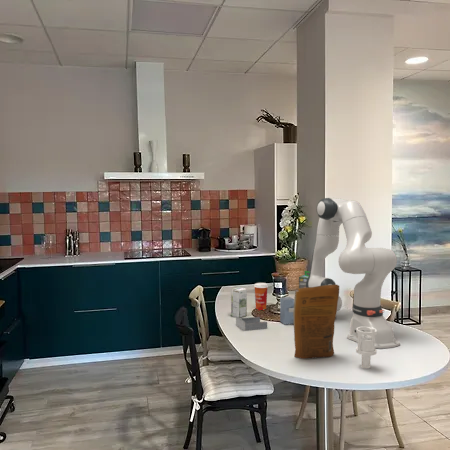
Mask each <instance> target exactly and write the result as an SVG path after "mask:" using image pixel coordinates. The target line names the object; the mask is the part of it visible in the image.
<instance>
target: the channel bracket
mask: <svg viewBox="0 0 450 450" xmlns="http://www.w3.org/2000/svg"><path fill="white" fill-rule="evenodd" d="M235 325H236V326H237V327H238V328H239V329H240V330H241V331H242V332H245V331H256V330H264V329H265V330H266V329H268V321H261V316H253V317H252V316H251V317H241V318H239V317H235Z"/></svg>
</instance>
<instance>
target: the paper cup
mask: <svg viewBox="0 0 450 450" xmlns="http://www.w3.org/2000/svg"><path fill="white" fill-rule="evenodd" d="M253 287H254V299H255V301H254V302H255V310H256V309H258V310H257V311H260V310H263V309H266V310H267V302H268V300H267V299H268V288H269V286H268V284H267V283H266V282H256V283H254V286H253ZM263 311H264V310H263Z"/></svg>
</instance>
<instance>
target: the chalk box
mask: <svg viewBox="0 0 450 450" xmlns="http://www.w3.org/2000/svg"><path fill="white" fill-rule="evenodd" d="M309 274H310V270H304V275H303V274H302V275H301V276H298V288H306V281H307V279H308V277H309Z"/></svg>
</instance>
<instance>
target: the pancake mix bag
mask: <svg viewBox="0 0 450 450" xmlns="http://www.w3.org/2000/svg"><path fill="white" fill-rule="evenodd" d="M339 296H340V285H338V284H336V285H323V286H316V287H307V288H299V287H298V288H297V290H295V292H294V297H293V299H294V311H293V317H294V321H293V322H294V324H293V333H294V334H293V335H294V337H293V340H294V348H295V350H294V357H295V358H297V359H302V360H307V359H317V358H319V359H320V358H331V357H333V356H334V354H335V350H334V335H335V324H336V323H335V322H336V317H337V312H338V311H337V304H338V299H339Z"/></svg>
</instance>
